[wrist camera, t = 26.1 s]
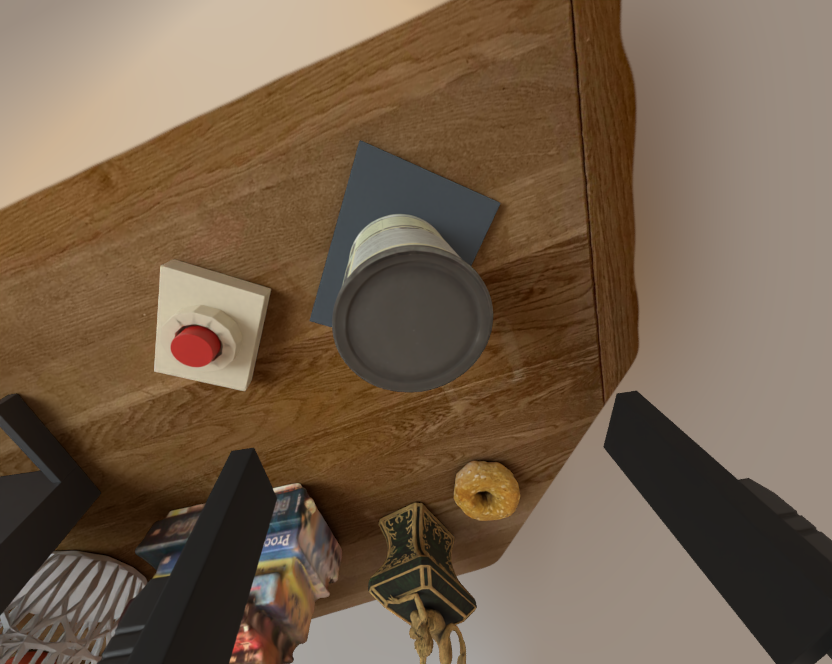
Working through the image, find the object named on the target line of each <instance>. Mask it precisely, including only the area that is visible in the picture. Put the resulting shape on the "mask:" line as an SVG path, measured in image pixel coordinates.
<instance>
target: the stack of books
mask: <svg viewBox="0 0 832 664" xmlns="http://www.w3.org/2000/svg"><path fill="white" fill-rule="evenodd" d="M273 490H274V492H275V494H276V497H277V501H276V505H275V508H274V512H273V515H272V519H271V522H270V525H269V529H268V532H267V536H266V539H265V543H264V546H263V549H262V553H261V556H260V560H259V563H258V567H257V570H256V573H255V577H254V580H253V584H252V587H251V591H250V594H249V597H248V601H247V604H246V608H245V611H244V615H243V618H242V621H241V625H240V628H239V632H238V635H237V639H236V642H235V645H234V649H233V652H232V656H231V659H230V663H229V664H290V663H292V662H293V660H294V658H293V651H294V650H295V648H296V647H297V646H298V645H299V644H303V643H305V642H306V641H307V638H308V633H309V627H310V622H311V618H312V615H313V612H314V609H315V601H316V600H317V599H319V598H324V597H328V596H329V595H330V593H329V591H328V583H333V582H336V581H337V580H338V577H339V568H340V563H341V559H342V549H341V547H340V545H339V543H338V542H337V540H336V538H335V537H334V535H333V533H332V532H331V530H330V528H329V527H328V525H327V523H326V522H325V520H324V519H323V517H322V515H321V514H320V512H319V511H318V509H317V506H316V505H315V503H314V500H313V499H312V498H310V497H309V495H308V493H307V490H306V489H305V488H304V487H303V488H302V486H301V484H299V483H295V484H290V485H286V486H281V487H277V488H273ZM204 505H205V504H200V505H196V506H191V507H187V508H182V509H177V510H172V511H170V512H169V513H168V515H167V517H166V518H164V519H162V520H160V521H157V522H155V523H154V524H153V526H152V527H151V529H150V530H149V531H148V533H147V534H146V536H145V537H144V539H143V540H142V541H141V543H140V544H139V545H138V546H137V547H136V549H135V553H136V555H138V556H139V557H141V558H143V559H144V560H145V561H146V562H148V563H149V564H150V565H151V566H152V567H154V569H156V570H157V572H156V574H155V575H154V577H153V578H158V577H164V576H170V574H171V572H172V570H173V568H174V566H175V564H176V562H177V560H178V558H179V556H180V554H181V552H182V550H183V548H184V546H185V544H186V542H187V540H188V538H189V536H190V534H191V532H192V530H193V528H194V526H195V524H196V522H197V520H198V518H199V516H200V514H201V512H202V509H203V507H204ZM133 600H134V598H133V599H131V600H130V601H129V602H128V604H127V605H126V607H125V609H124V610H123V612H122V614H121V616H120V620H119V622H118V624H117V626H118V625H119V623H120V621H121V619H122V617H123V616H124V614H125V612H126V610H127V608H128V607H129V605H130V603H131V602H132V601H133Z"/></svg>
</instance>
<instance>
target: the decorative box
mask: <svg viewBox="0 0 832 664" xmlns="http://www.w3.org/2000/svg"><path fill="white" fill-rule="evenodd" d="M379 526H380V528H381V530H382V532H383V534H384V537H385V539H386V542H387V548H388V552H387V558H386V561H385V562H384V564H383V565H382V566H381V567H380V568H379V569H378V570H377V571H376V573H375V574H374V575H373V576H372V577H371V578H370V581H369V584H368V591H369V592H370V593H371V594H372V595H373V596H374V597H375V598H376V599H377V600H378V601H379V602H380V603H381V604H382V605H383V606H384V607H385V608H386V609H387V610H389V611H390V612H392V613H394V614H395V615H396V616H398V617H399V618H401V619H402V620H404V621H405V622H407V623H408V624H409V625H411V628H410V631H409V635H410V638H412V639H416V641H415V643H414V644H415V649H416V650H417V653H418V654H419V657H420V664H426V657H427V656H429V655H430V653H432V649H433V639H434V640H435V641H436V642H437V644H438V647H439V657H440V663H441V664H451V661H452V647H451V641H450V633H451V631H452V630H453V631H456V633H457V635H458V637H459V642H460V656H459V657H458V661H457V664H466V647H465V642H464V640H463V637H462V634H461V632H460V630H459V628H458V627H457V626H456V625H457V624H459V623H462V622H464V621H465V620H466V619H467V618H468V617H469V616H470V615H471V614H472V613H473V612H474V611H475V609H476V608H477V606H476V601H475V599H474V598H473V597H472V595H470V593H469V592H468V591H467V590H466V589H465V588H464V587H463V585H462V584H461V583H460V582H459V580H458V579H457V577H456V575H455V572H454V570H453V566H452V560H451V555H452V549H453V545H454V540H455V538H454V536H453V535H452V534H451V533H450V532H449V531H448V530H447V529H446V528H445V527H444V526H443V525H442V524H441V523H440V522H439V520H438V519H437V518H436V517H435V516H434V515H433V514H432V513H431V512H430V511H429V510H428V509H427V508H426V507H425V506H424V505H423V504H422V503H413V504H411V505H409V506H407V507H404V508H402V509H400V510H398V511H396V512H394V513H392V514H389V515H387V516H385V517H383V518H381V519H380V521H379ZM432 638H433V639H432Z"/></svg>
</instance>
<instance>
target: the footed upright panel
mask: <svg viewBox="0 0 832 664" xmlns="http://www.w3.org/2000/svg"><path fill="white" fill-rule="evenodd" d="M0 427H1V428H2V429H3V430H4V431H5V433H6V434H7V435H8V436H9V437H10V438H11V439H12V440H13V441H14V442H15V443H16V444H17V445H18V446H19V448H20V449H21V450H22V451H23V452H24V453H25V454H26V455H27V456H28V457H29V458H30V459H31V460H32V461H33V463H34V464H35V465H36V466H37V467H38V468H39V469H40V470H41V471H36V472H29V473H22V474H16V475H9V476H2V477H0V615H1V614H2V613H3V612H4V610H5V609H6V608H7V607H8V606H9V604H10V603H11V602H12V601H13V600H14V598H15V597H16V596H17V595H18V593H19V592H20V591H21V590H22V589H23V587H24V586H25V585H26V584H27V583H28V581H29V580H30V579H31V578H32V577H33V575H34V574H35V573H36V572H37V570H38V569H39V568H40V567H41V566H42V564H43V563H44V562H45V561H46V560H47V558H48V557H49V556H50V555H51V554H52V552H53V551H54V550H55V549H56V547H57V546H58V545H59V544H60V543H61V541H62V540H63V539H64V538H65V537H66V535H67V534H68V533H69V532H70V531H71V529H72V528H73V527H74V526H75V525H76V523H77V522H78V521H79V520H80V518H81V517H82V516H83V515H84V514H85V512H86V511H87V510H88V509H89V508H90V506H91V505H92V504H93V503H94V502H95V500H96V499H97V498H98V497H99V495H100V494H101V492H100V491H99V490H98V488H97V487H96V486H95V485H94V484H93V483H92V481H91V480H90V479H89V478H88V477H87V475H86V474H85V473H84V472H83V471H82V470H81V468H80V467H79V466H78V465H77V464H76V462H75V461H74V460H73V459H72V458H71V456H70V455H69V454H68V453H67V452H66V451H65V449H64V448H63V447H62V446H61V445H60V443H59V442H58V441H57V440H56V439H55V438H54V436H53V435H52V434H51V433H50V432H49V430H48V429H47V428H46V427H45V426H44V425H43V423H42V422H41V421H40V420H39V419H38V417H37V416H36V415H35V414H34V413H33V412H32V410H31V409H30V408H29V407H28V406H27V404H26V403H25V402H24V401H23V400H22V399H21V397H20V396H19V395H18V394H11V395H7V396H5V397H4V398H2V399H1V400H0Z"/></svg>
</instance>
